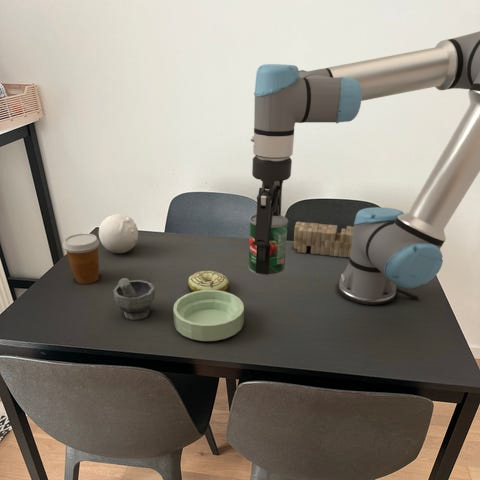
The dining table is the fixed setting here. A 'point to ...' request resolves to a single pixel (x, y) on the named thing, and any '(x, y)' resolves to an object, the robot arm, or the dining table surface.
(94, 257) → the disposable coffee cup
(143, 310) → the mortar and pestle
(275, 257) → the canned tomato
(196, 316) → the bowl
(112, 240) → the decorative ball
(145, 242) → the dining table surface
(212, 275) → the decorated donut
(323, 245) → the block tower
